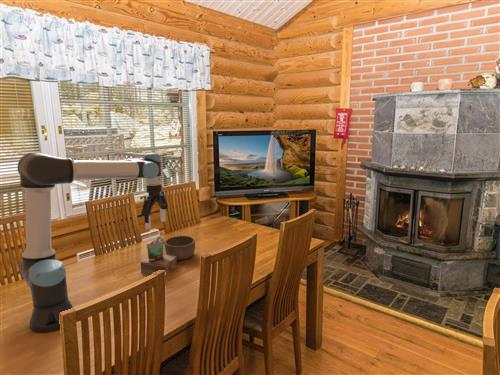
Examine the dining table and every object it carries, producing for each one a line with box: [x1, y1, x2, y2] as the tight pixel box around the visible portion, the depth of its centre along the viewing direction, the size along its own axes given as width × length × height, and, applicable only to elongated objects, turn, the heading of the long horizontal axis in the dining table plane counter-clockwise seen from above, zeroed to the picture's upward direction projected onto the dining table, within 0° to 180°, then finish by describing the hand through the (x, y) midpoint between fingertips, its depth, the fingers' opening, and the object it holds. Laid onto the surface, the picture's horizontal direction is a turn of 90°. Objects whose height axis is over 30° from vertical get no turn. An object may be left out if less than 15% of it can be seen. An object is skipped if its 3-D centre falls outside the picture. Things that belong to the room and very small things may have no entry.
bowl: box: [164, 235, 196, 261], centre depth 193 cm, size 17×18×10 cm
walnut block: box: [140, 254, 178, 276], centre depth 176 cm, size 12×14×6 cm
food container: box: [146, 236, 165, 262], centre depth 175 cm, size 12×6×10 cm, turn 168°
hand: (155, 224), depth 171 cm, fingers open, 13 cm apart
